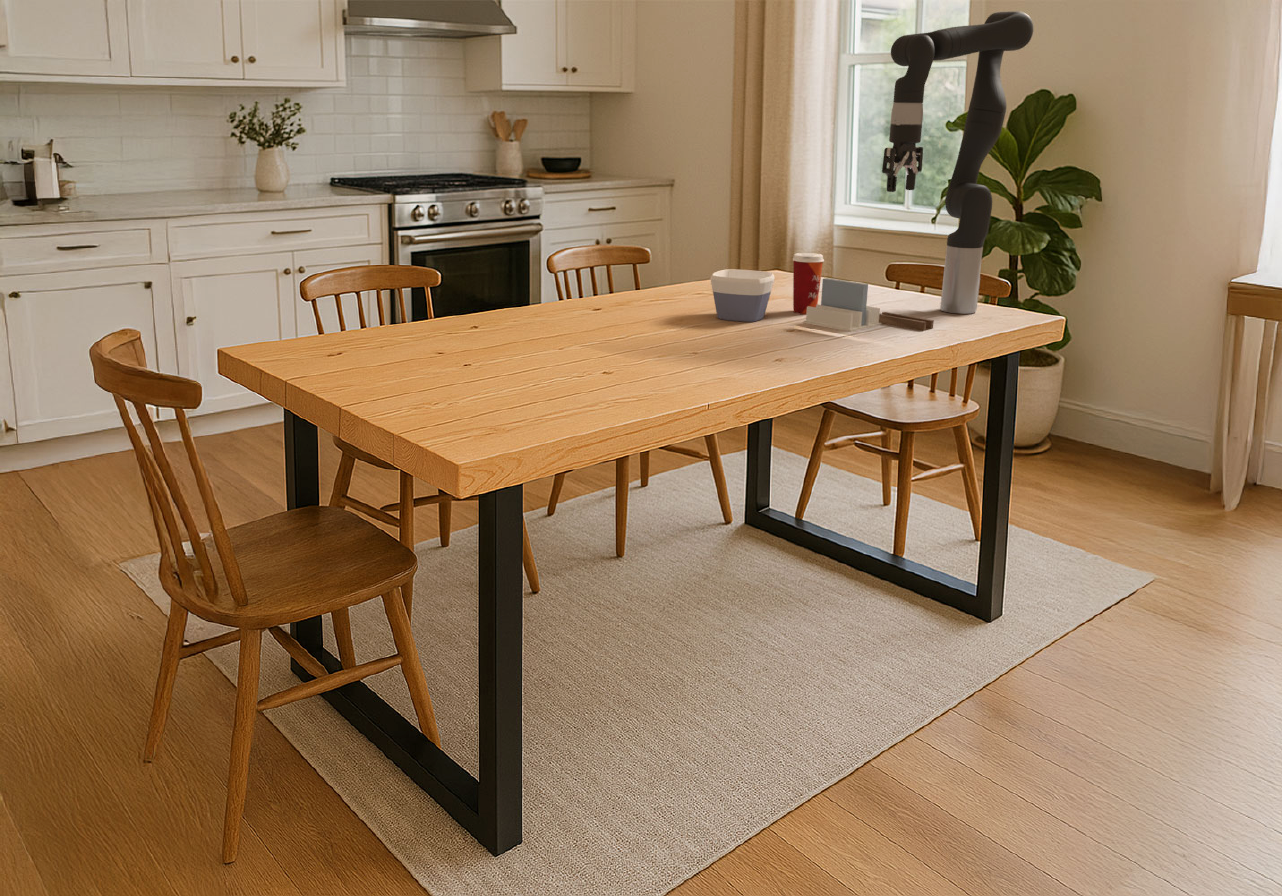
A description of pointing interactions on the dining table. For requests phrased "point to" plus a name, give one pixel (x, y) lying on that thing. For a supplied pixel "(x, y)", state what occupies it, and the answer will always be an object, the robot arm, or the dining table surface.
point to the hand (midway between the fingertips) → (900, 190)
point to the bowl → (741, 294)
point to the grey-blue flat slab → (845, 295)
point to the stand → (905, 321)
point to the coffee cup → (806, 280)
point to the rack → (841, 317)
